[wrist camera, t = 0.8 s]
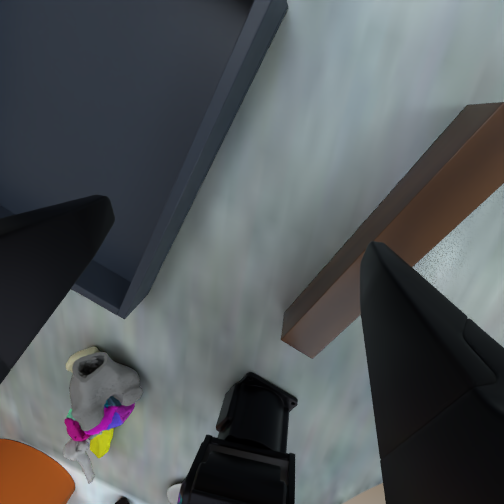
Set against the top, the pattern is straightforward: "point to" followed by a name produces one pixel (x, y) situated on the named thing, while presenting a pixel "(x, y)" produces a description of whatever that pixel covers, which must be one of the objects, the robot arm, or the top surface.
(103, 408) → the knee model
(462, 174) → the stick
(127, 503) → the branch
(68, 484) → the cake
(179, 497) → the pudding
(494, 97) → the top surface
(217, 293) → the top surface
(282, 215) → the top surface
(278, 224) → the top surface
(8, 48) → the tin
